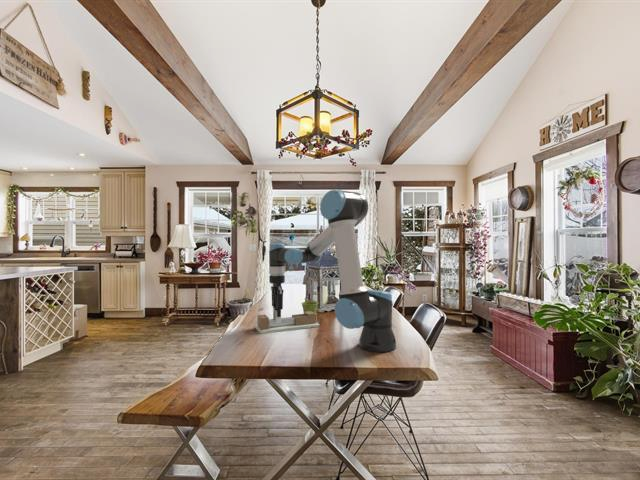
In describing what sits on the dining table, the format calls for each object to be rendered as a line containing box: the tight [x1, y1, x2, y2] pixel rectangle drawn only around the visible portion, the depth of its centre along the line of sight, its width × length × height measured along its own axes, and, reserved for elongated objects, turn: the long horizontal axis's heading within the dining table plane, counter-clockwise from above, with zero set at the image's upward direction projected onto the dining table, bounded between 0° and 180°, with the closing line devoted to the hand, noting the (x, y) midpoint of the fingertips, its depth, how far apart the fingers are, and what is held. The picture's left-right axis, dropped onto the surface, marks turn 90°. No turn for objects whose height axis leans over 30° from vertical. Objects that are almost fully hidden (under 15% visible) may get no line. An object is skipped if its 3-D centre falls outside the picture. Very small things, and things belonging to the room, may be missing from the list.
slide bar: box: [269, 306, 300, 327], centre depth 170 cm, size 3×17×9 cm, turn 114°
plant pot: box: [301, 301, 319, 315], centre depth 188 cm, size 9×9×9 cm
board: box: [254, 311, 320, 335], centre depth 170 cm, size 12×30×6 cm, turn 114°
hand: (277, 322), depth 168 cm, fingers closed on slide bar, 3 cm apart
